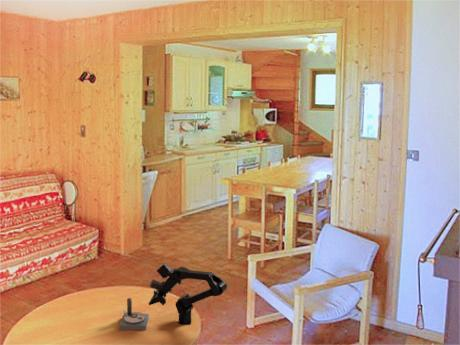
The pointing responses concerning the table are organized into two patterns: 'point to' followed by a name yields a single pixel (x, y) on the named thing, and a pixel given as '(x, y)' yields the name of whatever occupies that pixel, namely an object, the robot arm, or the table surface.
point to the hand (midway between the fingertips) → (149, 304)
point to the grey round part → (132, 314)
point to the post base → (129, 326)
